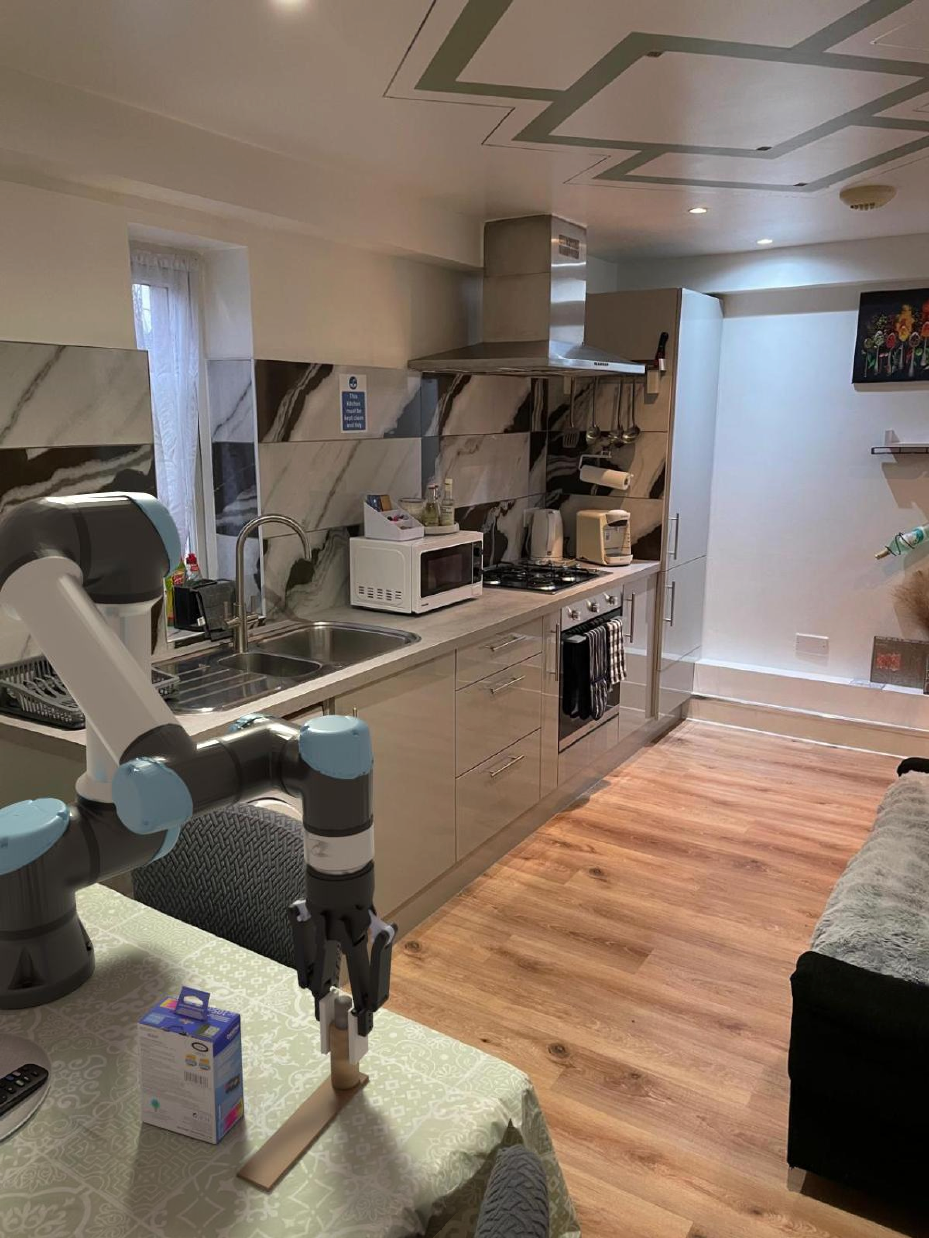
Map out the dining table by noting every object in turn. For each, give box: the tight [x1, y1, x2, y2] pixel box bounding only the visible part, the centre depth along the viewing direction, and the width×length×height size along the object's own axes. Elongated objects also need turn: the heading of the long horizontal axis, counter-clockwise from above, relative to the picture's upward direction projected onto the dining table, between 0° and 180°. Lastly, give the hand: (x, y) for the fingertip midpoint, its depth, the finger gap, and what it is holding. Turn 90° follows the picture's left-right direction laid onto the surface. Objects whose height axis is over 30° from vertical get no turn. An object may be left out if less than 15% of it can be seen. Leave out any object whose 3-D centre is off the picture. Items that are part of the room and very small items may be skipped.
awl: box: [329, 994, 360, 1089], centre depth 104 cm, size 3×3×10 cm
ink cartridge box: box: [136, 985, 245, 1145], centre depth 99 cm, size 10×6×14 cm, turn 70°
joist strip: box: [236, 1071, 370, 1192], centre depth 99 cm, size 4×18×1 cm, turn 153°
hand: (344, 1051), depth 104 cm, fingers closed on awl, 3 cm apart
